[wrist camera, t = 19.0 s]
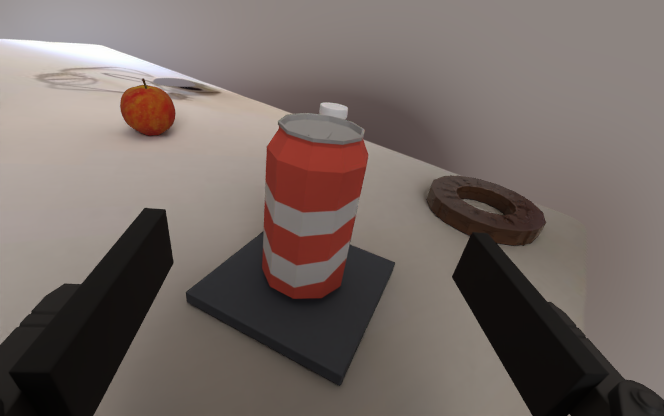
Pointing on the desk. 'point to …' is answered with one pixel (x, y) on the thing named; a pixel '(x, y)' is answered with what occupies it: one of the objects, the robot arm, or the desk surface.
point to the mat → (296, 308)
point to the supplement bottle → (333, 110)
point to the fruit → (147, 109)
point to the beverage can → (311, 202)
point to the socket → (505, 229)
